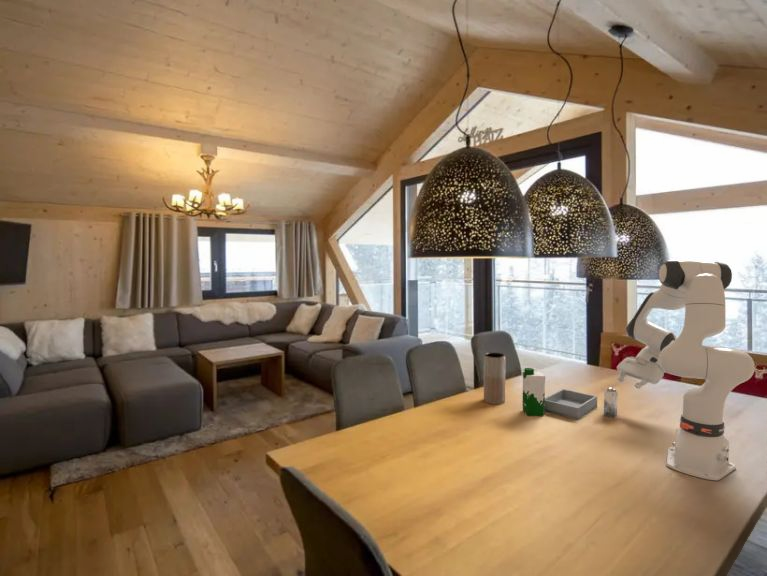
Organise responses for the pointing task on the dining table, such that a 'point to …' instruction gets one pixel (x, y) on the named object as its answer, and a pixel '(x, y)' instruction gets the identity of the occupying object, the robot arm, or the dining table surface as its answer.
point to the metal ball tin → (610, 402)
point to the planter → (494, 378)
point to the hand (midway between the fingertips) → (628, 384)
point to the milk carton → (533, 392)
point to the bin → (570, 403)
